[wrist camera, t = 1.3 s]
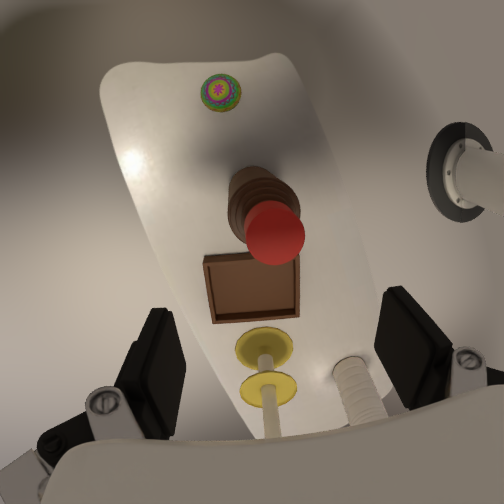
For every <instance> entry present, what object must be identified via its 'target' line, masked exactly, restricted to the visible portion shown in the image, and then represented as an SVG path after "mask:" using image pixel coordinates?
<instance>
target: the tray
mask: <svg viewBox="0 0 504 504" xmlns="http://www.w3.org/2000/svg"><path fill="white" fill-rule="evenodd" d="M203 270H204V276H205V282H206V289H207V295H208V301H209V307H210V312H211V318H212V324H223V323H239V322H252V321H264V320H276V319H286V318H295V317H296V318H297V317H300V255H299V253H298V255H297V256H296V257H295V258H293V259H292V260H291V261H289V262H287V263H284V264H281V265H268V264H264V263H262V262H260V261H258V260H257V259H255V258H254V257H253V256H252V254H251V253H242V254H229V255H217V256H205V257H204V260H203Z"/></svg>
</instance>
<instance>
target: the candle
mask: <svg viewBox="0 0 504 504" xmlns="http://www.w3.org/2000/svg"><path fill="white" fill-rule="evenodd" d="M292 351H293V344H292V340H291V339H290V337H289V336H288V335H287V333H285V332H283V331H281V330H280V329H278V328H272V327H261V328H254V329H252V330H250V331H248V332H246V333H244V334H243V335H242V336H241V337H240V339H239V340H238V341H237V344H236V348H235V352H236V356H237V359H238V360H239V361H240V362H241V363H242V364H243V365H244V366H246V367H248V368H251V369H254V370H259V373H256V374H254V375H252V376H249V377H248V378H247V379H246V380H245V381H244V382H243V383H242V385H241V388H240V395H241V398H242V399H243V400H244V401H245V402H246V403H247V404H249V405H252V406H254V407H258V408H263V419H264V431H265V439H268V438H278V437H281V429H280V421H279V413H278V406H281V405H283V404H286V403H287V402H288V401H290V400H291V399H292V398H293V397H294V396H295V394H296V392H297V384H296V382H295V381H294V379H293V378H292V377H291V376H290V375H287V374H285V373H283V372H278V371H274V369H275V368H277V367H279V366H281V365H283V364H284V363H285V362H286V361H287V360H288V359H289V358H290V356H291V354H292Z"/></svg>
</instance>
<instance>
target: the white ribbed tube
mask: <svg viewBox="0 0 504 504" xmlns="http://www.w3.org/2000/svg"><path fill="white" fill-rule="evenodd" d="M333 376H334V379H335V382H336V384H337V388H338V390H339V393H340V396H341V399H342V403H343V405H344V409H345V412H346V414H347V418H348V421H349V423H350V426H354V425H359V424H363V423H367V422H372V421H376V420H380V419H384V418H387V417H388V414H387V412H386V410H385V407H384V405H383V402H382V400H381V398H380V396H379V394H378V392H377V389H376V387H375V385H374V383H373V380H372V378H371V376H370V374H369V372H368V370H367V367H366V365H365V363H364V361H363V360H362V359H361V358H358V357H349V358H347V359H346V360H345V359H344V360H342V361H341V362H339V363H338V364H337V365H336V366H335V368H334V370H333Z"/></svg>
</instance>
